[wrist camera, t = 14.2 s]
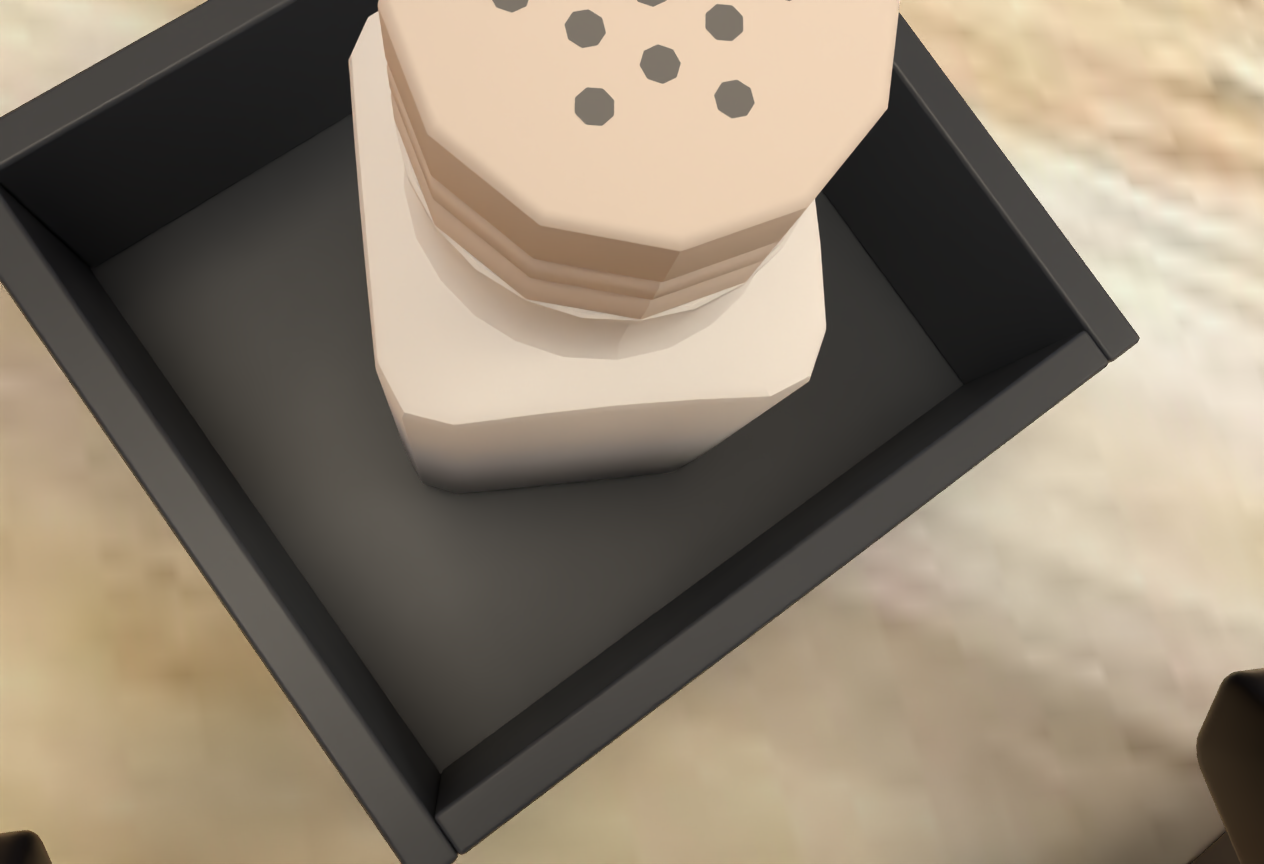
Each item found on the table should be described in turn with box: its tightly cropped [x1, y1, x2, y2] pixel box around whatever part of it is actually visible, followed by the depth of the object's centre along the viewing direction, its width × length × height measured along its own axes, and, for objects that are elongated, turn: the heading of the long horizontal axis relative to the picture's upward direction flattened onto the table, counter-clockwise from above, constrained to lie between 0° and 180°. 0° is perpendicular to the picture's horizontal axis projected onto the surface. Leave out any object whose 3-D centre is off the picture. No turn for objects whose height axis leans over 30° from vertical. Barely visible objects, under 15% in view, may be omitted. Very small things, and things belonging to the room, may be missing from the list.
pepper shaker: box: [349, 0, 900, 494], centre depth 12 cm, size 4×4×10 cm
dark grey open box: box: [0, 0, 1139, 864], centre depth 15 cm, size 10×9×4 cm
